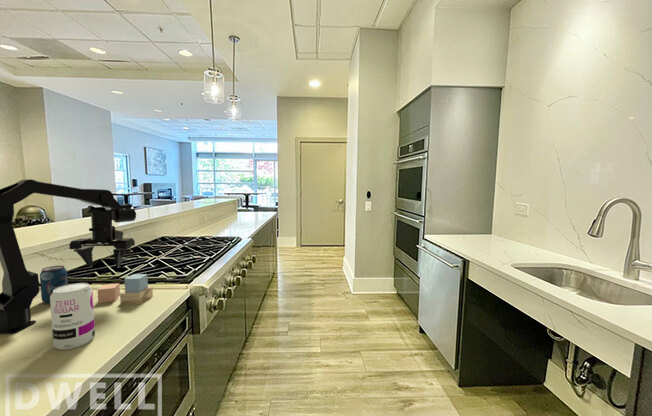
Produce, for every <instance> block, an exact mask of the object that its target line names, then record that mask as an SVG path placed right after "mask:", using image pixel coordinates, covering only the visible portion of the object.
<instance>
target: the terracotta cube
mask: <svg viewBox="0 0 652 416" xmlns="http://www.w3.org/2000/svg"><path fill="white" fill-rule="evenodd" d="M120 288H121V287H120V283H109V284H102V285H100V287H99V288H97V300H98V301H97V303H98V304H103V303H110V302H116V301H117V300H118V299H120V297H119V296H120V293H121V291H120V290H121V289H120Z"/></svg>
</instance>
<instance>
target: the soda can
mask: <svg viewBox="0 0 652 416" xmlns="http://www.w3.org/2000/svg"><path fill="white" fill-rule="evenodd" d="M39 280H40V281H39V283H40V284H41V285H42V286H41V287H40V295H41V296H40V297H41V301H42V302H43V303H44V304H47V303H50V296H51V295H52V293H53V290H54V289H56V288H58V287H61V286H65V285H69V284H68V283H69V281H68V270H67V269H66V268H65V265H52V266H46V267H43V268H41V272H40V273H39Z"/></svg>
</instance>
